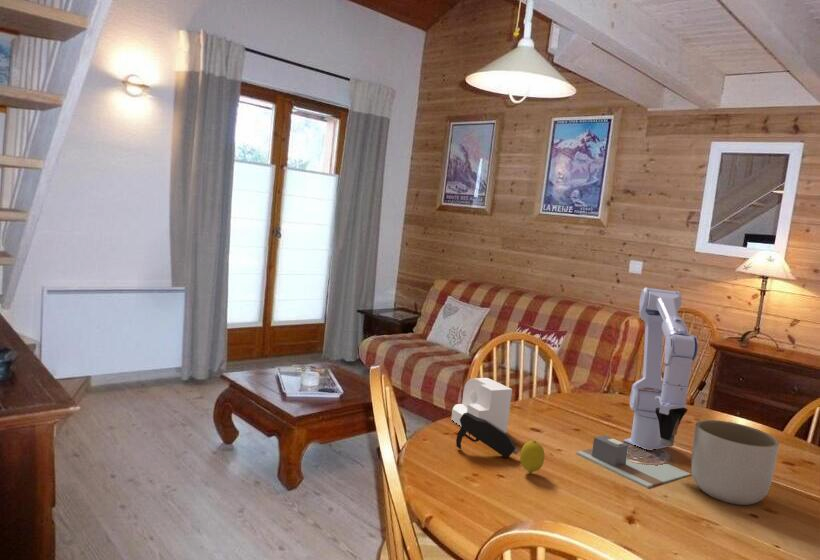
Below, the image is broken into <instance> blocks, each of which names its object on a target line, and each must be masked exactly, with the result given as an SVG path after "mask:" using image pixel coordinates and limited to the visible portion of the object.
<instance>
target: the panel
mask: <svg viewBox="0 0 820 560" xmlns="http://www.w3.org/2000/svg"><path fill="white" fill-rule="evenodd" d="M592 450H593V448H589V449H584V450H579V451H576V453H575V454H576V455H577V456H579V457H582V458H584V459H586V460H588V461H590V462H592V463H595V464H596V465H598V466H600V467H603V468H604V469H606V470H608V471H611V472H613V473H615V474H617V475H619V476H621V477H622V478H625V479H628V480H630V481H631V482H634V483H636V484H638V485H640V486H641V487H643V488H646V489H649V488H652V487H655V486H656V487H657V486H660V485H663V484H666V483H670V482H672V481H673V482H674V481H675V480H679V479H682V478H685V477H688V476H691V475H692V473H690V472H687V471H686V470H682V469H681V468H678V467H676V466H673V465H672V464H669V463H667V464H663V465H658V466H655V465H644V464H643V465H642V464H636V463H632V462H630V461H628V460H626V464H624V465H620V466H616V467H614V466H612V465H609V464H607V463H605V462H603V461H601V460H599V459H597V458H595V457H593V456H592Z"/></svg>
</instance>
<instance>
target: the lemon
mask: <svg viewBox="0 0 820 560" xmlns="http://www.w3.org/2000/svg"><path fill="white" fill-rule="evenodd" d="M519 456H520V457H519V461H520V463H521V466H522V467H523V469H524V470H526V471H527V472H528V474H532V473H534V472H537V471H539V470H541V468H542V467H543V465H544V462H545V451H544V447H543V446H542V445H541V444H540V443H539V442H538V441H537V440H536V439H533V440H531V441H528V442H525V443H524V444H523V446H522V448H521V450H520V455H519Z"/></svg>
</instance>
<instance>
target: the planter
mask: <svg viewBox="0 0 820 560" xmlns="http://www.w3.org/2000/svg"><path fill="white" fill-rule="evenodd" d="M693 435H694V436H693V444H692V452H691V466H690V467H691V469H690V470H691V475H692V478H693V480H694V482H695V484H696V485H697V486H698V488H700V490H701V491H702V492H703V493H705V494H707V495H708V496H709V497H711V498H713V499H715V500H718V501H720V502H723V503H727V504H731V505H739V506H749V505H754V504H756V503H758V502H760V501H762V500H763V499H765V498H766V496H767V495H768V493H769V491H770V488H771V485H772V482H773V478H774V474H775V468H776V464H777V459H778V453H779V448H780V441H779V440H778V439H777V438H776V437H775V436H773V435H772V434H769V433H767V432H766V431H762V430H760V429H757V428H754V427H751V426H748V425H744V424H739V423H736V422H732V421H725V420H718V419H717V420H716V419H702V420H698V421H697V422H696V423H695V427H694V434H693Z"/></svg>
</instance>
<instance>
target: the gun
mask: <svg viewBox="0 0 820 560" xmlns="http://www.w3.org/2000/svg"><path fill="white" fill-rule="evenodd" d="M460 423H461V426H462V427H461V426H460V428H459V430H458V432H457V434H456V440H455V445H456V447H457V448H458V449H459V450H462V440H463V438H464V437H465V438H466V439H468V440H470V441H471V442H474V443H477V442H479V441H480V442H482V443H483V444H484V445H486V446H488V447H489V448H490V449H492V450H494V451H495V452H496V453H498V454H499V455H501V456H502V457H504V458H510V456H511V455H512V454H515V455H517V454H518V453H519V450H518V449H517V448H516V445H515V442H514V440H512V438H511V437H510V436H509V434H508V433H506V432H504V431H503V430H501V429H500V428H498V427H497V426H495V425H494V424H492V423H491V422H488V421H486V420H484V419H481V418H477V417H476V416H474V415H472V414H470V413H464V414H463V415H462V417H461V418H460ZM467 433H468V434H467ZM471 436H472V437H473V438H472V437H471ZM474 437H475V439H474Z"/></svg>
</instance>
